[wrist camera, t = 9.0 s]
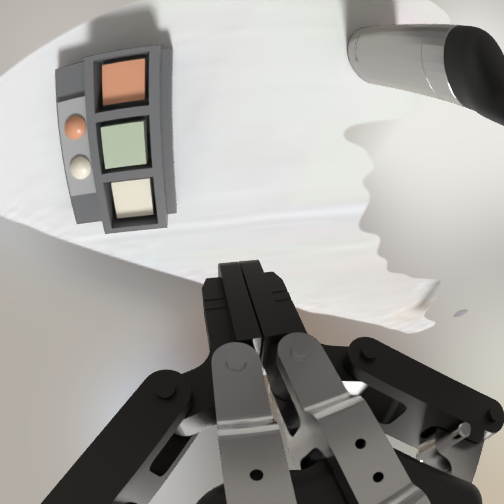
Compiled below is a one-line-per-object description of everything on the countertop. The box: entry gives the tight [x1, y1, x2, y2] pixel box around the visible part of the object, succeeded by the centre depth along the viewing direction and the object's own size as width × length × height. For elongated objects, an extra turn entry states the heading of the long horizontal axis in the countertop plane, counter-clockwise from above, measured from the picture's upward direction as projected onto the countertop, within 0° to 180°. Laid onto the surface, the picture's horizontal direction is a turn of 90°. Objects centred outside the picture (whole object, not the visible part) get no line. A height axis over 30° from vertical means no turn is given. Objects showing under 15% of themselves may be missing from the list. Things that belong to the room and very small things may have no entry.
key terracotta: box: [102, 58, 147, 106], centre depth 23 cm, size 5×5×2 cm
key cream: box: [111, 177, 155, 218], centre depth 31 cm, size 5×5×2 cm
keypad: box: [55, 45, 177, 234], centre depth 27 cm, size 14×21×6 cm
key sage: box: [101, 119, 148, 169], centre depth 25 cm, size 5×5×2 cm
